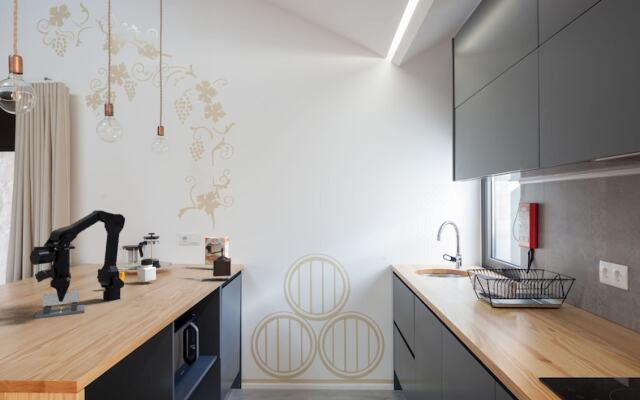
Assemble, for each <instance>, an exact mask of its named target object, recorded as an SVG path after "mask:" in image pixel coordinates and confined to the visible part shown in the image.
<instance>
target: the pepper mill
mask: <svg viewBox="0 0 640 400" xmlns="http://www.w3.org/2000/svg"><path fill="white" fill-rule="evenodd" d="M211 248H212V246H211V245H207V246H206V249H207V250H208V253H210V254H214V253H219V252H221V256H220V257H218V258H217V259H214V260H213V265H212V277H215V278H216V277H231V275H232V258H231V257H230V258H227V257H225V256H223V248H221V251H218V252H212V250H211ZM211 252H212V253H211Z"/></svg>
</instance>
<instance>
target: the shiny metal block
mask: <svg viewBox="0 0 640 400" xmlns="http://www.w3.org/2000/svg"><path fill="white" fill-rule="evenodd" d="M41 300H42V304H41V305H42V307H45V306H51V307H52V306H57V305H65V304H72V303H73V302H77V303H79V302H80V291H79V290H78V289H76V290H67V292H66V295H65V297H64V299H63V301H62V302H59V299H58V295H57V292H51V293H42V299H41Z"/></svg>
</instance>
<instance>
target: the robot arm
mask: <svg viewBox="0 0 640 400" xmlns="http://www.w3.org/2000/svg"><path fill="white" fill-rule="evenodd" d="M98 222H101V223H104V224H103V225H104V229H105V231H106V241H105V251H104V263H103V265H102V267H101V268H98V269H97V276H96V279H97V282H98V283H99V284H100V287H101V289H104V291H102V301H103V302H114V301H115V302H116V301H119V300H121V289H122V288H124V286H125V284H126V282H125V281H124V282H123V281H122V280H121V279H120V278H119V272H120V271H119V268H118V266H117V260H118V251H119V241H120V233H121V232H122V231H123V230H124V226H125V224H126V218H125V216H124V215H123V214H121V213H112V212H109V211H108V212H107V211H105V210H100V209H99V210H93V211H92V212H91V213H89V214H88V215H87V214H86V216H84V217H82V218H80V219H79V220H77V221H75V222H74V223H72V224H70V225H66V226H62V227H60V228H57V229H55V230H53V231H51V232H50V236H49V237H48V239H47V240H46V241H45V243H44V245H42V246H34V247H33V250H32V251H31V252H30V255H29V260H30V262H31V264H32V265H34V266H37V265H38V266H39V265H44V264H50V263H52V265H51V266H50V268H49V267H48V268H46V269H41V270H39V271H37V272H36V273H35V274H34V277H35V279H36V280H37V283H40V282H43V281H44V280H47V279H49V278H51V280H50V283H49V284H50V288H53V289H55V290H56V293H57V295H58V299H59V302H62V301H63V299H64V297H65V295H66V292H67V291H69V288H70V285H71V279H72V272H71V271H70V270H71V261H70V260H71V258H70V257H71V250H75V249H76V247H75V246H74V245H73V244H72V242H74V240H75V239H76V238H77V237H78V236H79V234H80V233H82V232H84V231H85V230H87V229H88V228H90V227H91V226H93V225H95V224H96V223H98Z"/></svg>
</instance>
